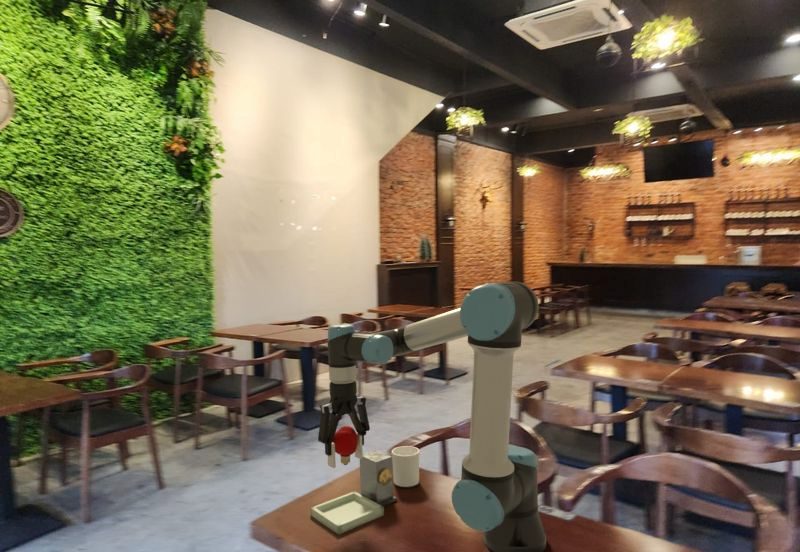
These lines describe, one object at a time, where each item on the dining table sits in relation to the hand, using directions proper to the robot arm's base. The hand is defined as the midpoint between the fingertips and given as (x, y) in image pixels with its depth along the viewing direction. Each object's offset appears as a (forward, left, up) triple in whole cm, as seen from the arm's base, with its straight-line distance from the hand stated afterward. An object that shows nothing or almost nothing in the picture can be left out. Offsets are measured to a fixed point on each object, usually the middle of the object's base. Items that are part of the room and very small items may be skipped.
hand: (345, 461), depth 143 cm
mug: (+5, -27, -15) cm, 31 cm away
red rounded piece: (0, 0, -1) cm, 1 cm away
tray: (0, 0, -15) cm, 15 cm away
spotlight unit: (+2, -12, -15) cm, 19 cm away
